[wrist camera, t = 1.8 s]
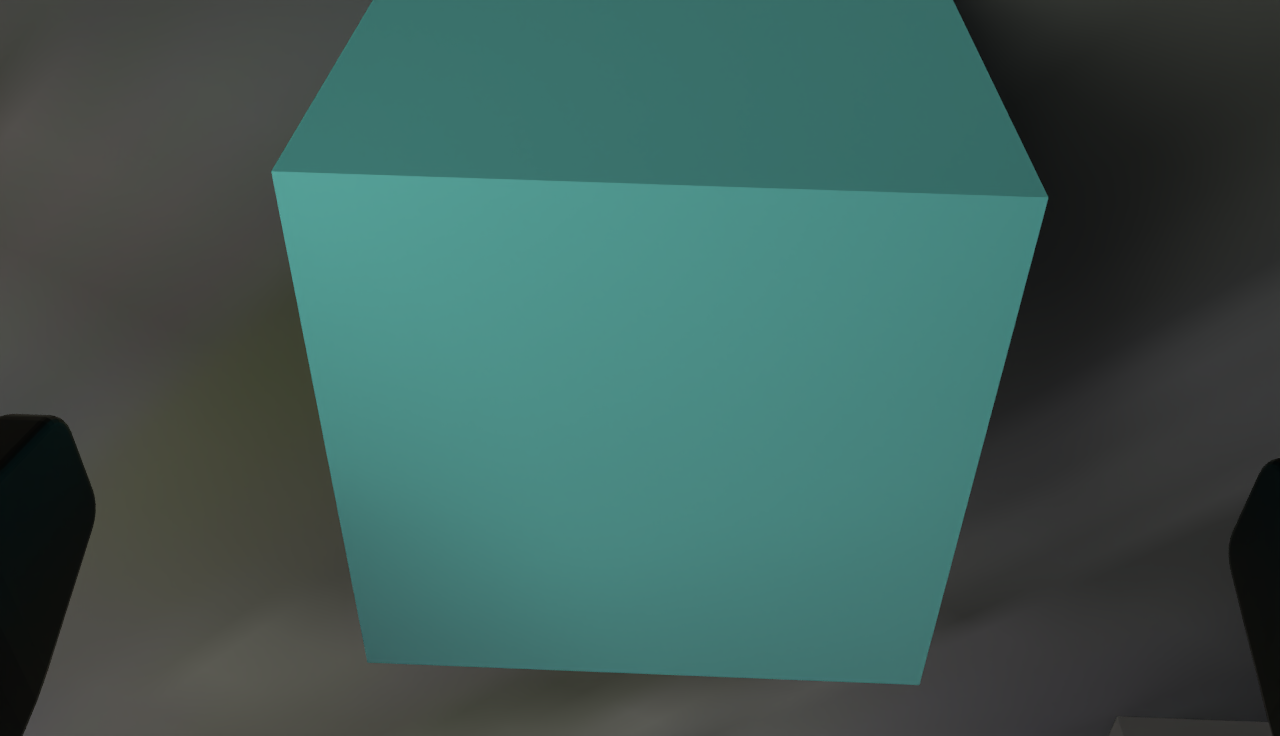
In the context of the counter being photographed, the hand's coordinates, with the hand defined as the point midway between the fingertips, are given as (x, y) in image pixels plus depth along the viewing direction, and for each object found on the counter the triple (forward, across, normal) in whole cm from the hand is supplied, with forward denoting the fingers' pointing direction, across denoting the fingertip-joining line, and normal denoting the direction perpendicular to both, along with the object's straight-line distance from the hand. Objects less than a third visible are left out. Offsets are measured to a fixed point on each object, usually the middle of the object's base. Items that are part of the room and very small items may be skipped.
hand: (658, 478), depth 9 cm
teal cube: (+5, 0, 0) cm, 5 cm away
